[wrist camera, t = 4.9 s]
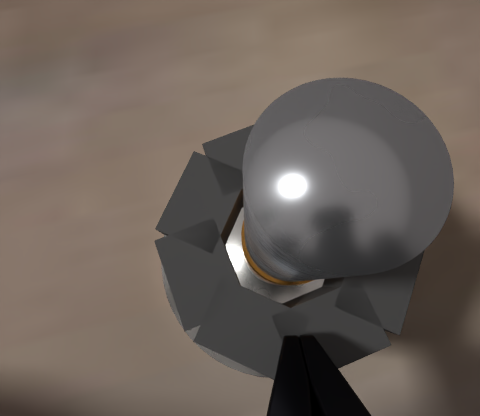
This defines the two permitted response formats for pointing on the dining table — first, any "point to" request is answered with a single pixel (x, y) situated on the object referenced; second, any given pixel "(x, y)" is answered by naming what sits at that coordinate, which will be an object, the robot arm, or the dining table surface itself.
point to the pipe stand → (334, 190)
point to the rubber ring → (249, 302)
